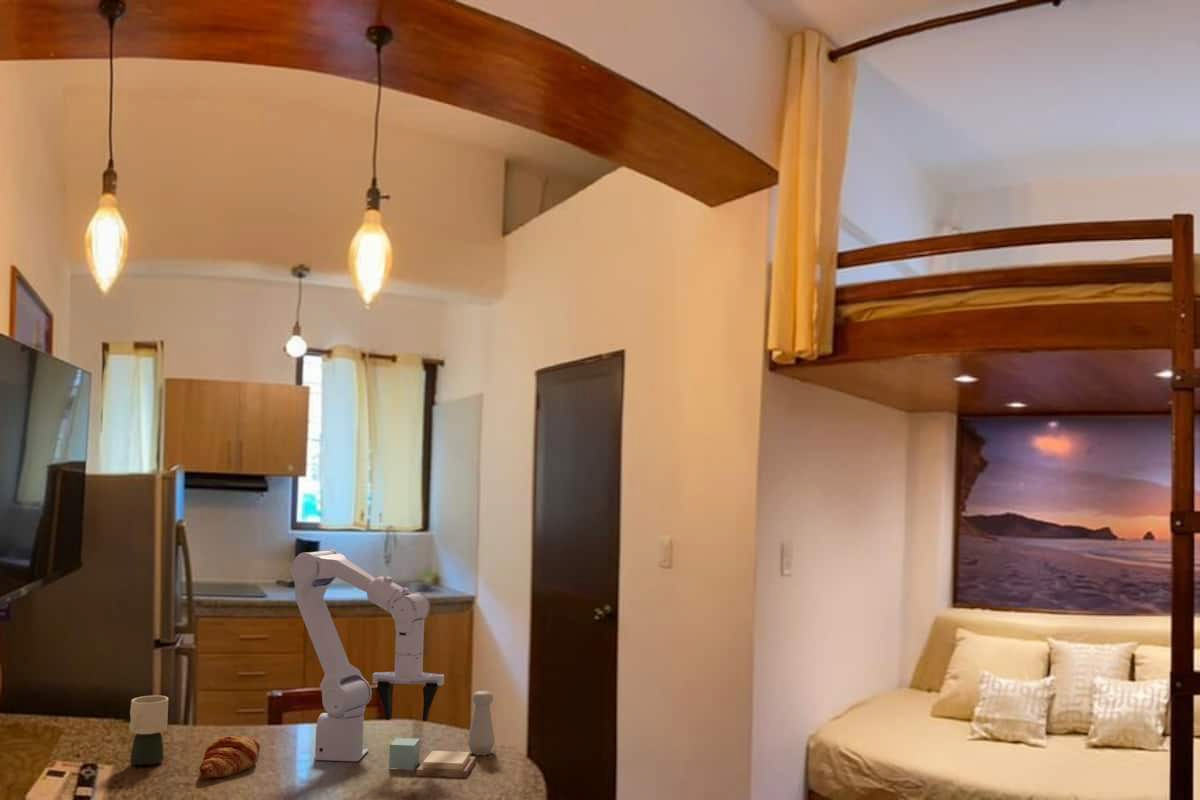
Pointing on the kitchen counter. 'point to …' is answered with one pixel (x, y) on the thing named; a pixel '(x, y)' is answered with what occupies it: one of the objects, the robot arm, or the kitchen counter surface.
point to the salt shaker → (481, 724)
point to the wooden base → (446, 764)
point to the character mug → (148, 728)
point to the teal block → (404, 753)
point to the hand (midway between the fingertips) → (406, 719)
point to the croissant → (229, 756)
